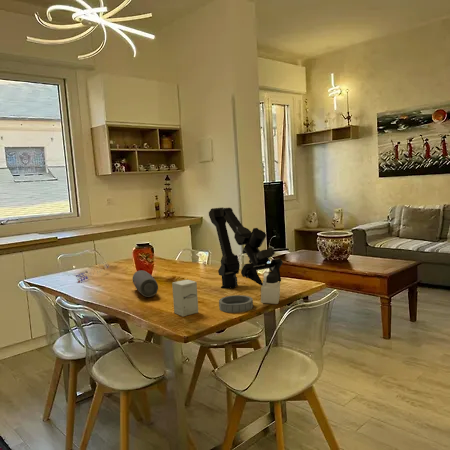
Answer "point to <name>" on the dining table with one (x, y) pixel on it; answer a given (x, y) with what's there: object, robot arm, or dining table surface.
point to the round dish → (236, 304)
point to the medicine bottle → (270, 288)
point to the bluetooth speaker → (145, 283)
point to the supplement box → (185, 297)
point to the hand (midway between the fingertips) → (271, 283)
